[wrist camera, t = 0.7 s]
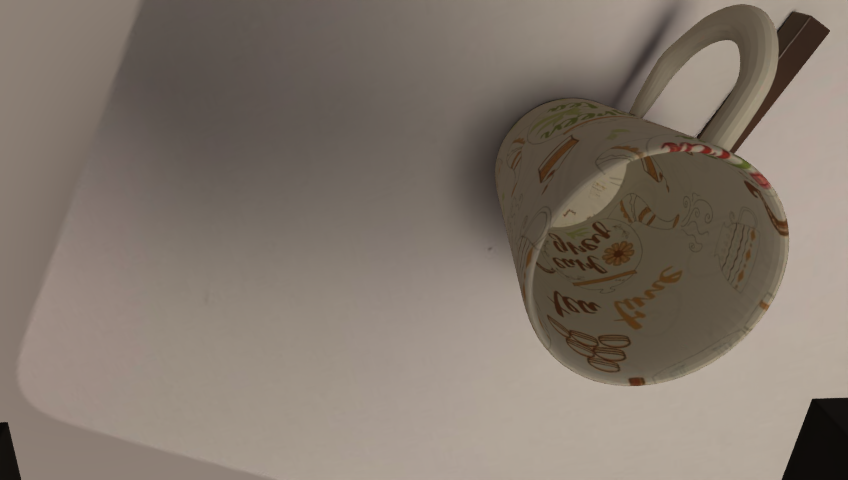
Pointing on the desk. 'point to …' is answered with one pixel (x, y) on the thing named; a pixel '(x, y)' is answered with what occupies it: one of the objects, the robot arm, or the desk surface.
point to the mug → (646, 221)
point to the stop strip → (787, 61)
